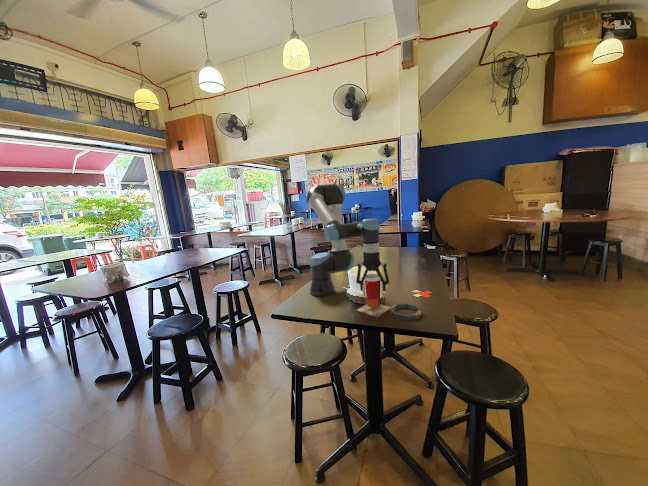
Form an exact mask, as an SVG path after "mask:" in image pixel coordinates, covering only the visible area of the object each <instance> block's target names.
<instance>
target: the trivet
mask: <svg viewBox="0 0 648 486" xmlns="http://www.w3.org/2000/svg"><path fill="white" fill-rule="evenodd" d="M390 307H391V306H389V305H388V306H387V305H385V304H381V303H380V306H379V307H376V308H372V307H369V306H368V304H367V303H366V304H364V305H363V306H361V307H359V308H357V309H356V311H357V312H359V313H363V314H365V315H368V316H371V317H375V318H379V317H381V316H382V315H384V314H385V313H386V312H388V311H390Z"/></svg>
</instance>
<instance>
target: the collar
mask: <svg viewBox="0 0 648 486" xmlns="http://www.w3.org/2000/svg"><path fill="white" fill-rule="evenodd" d="M389 307H390V309H389V312H390V314H391V316H392V317H393V318H395V319H398V320H402V321H413V320H417V319H419V318H420V317H422V310H421V309H420V307H418V305H415V304H410V303H406V302H404V303H395V304H393V305H392V306H389ZM397 309H400V310H401V309H408V310H412V311H415V313H414V314H401V313H398V312H396V310H397Z"/></svg>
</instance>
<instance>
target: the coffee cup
mask: <svg viewBox="0 0 648 486" xmlns="http://www.w3.org/2000/svg"><path fill="white" fill-rule="evenodd" d="M364 283H365V297H366V304H368V306H369V307H372V308H376V307H379V306H380V304H381V284H382V282H381V279H380V277H379V276H378V274H377V273H367V275H366V277H365V279H364Z"/></svg>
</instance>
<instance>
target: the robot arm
mask: <svg viewBox="0 0 648 486" xmlns="http://www.w3.org/2000/svg"><path fill="white" fill-rule="evenodd" d="M346 195H347V194H346V191H345V188H344V186H342V185H341V184H339V183H331V184H317V185H314V186H312V187H311V188H310V189H309V190H308V191H307V195H306V203H307V205H308V207H309V208H311V209H313V211H314V212H315V215H316V216H317V217H318V219H319V221H320V223H322V225H323V227H324V229H323V234H324V238H325V240H326V241H328V242H331V249H330V253H329V252H326V251H324V252H318V253H315V254H314V255H312V256H310V261H309V262H310V273H311V282H310V283H311V284H310V288H309V293H310V294H311V296H315V297H325V296H330V295H332V294H334V293H335V292H336V291H335V290H336V289H335V286H334V283H333V281H332V274H337V273H341V272H347V271H350V269H351V270H352V269H353V267H354V265H355V255H354V253H353V252H352V251H350V248H349V247H347V243H346V239H347V240H349V239H354V238H355V239H356V238H361V239H362V250H363V251H362V252H363V262H357V265H356V266H357V275H356V281H355V282H356V284H359V287H360V291H362V297H363V299H364V298H366V287H365V280H364V279H365V277H366V275H367V274H368V273H369V272H376V274H378V276H379V277H380V279H381V283H380V291H381V299H384V292H386V290H387V289H386V285H389V284H390V279H389V278H390V277H389V273H388V269H387V262H381V260H380V259H381V258H380V257H381V254H380V226H379V220H378V219H377V218H364V219H362V220H361V221H353V222H349V223H344V221H343V220H344V219H343V213H342V207H343V206H344V203H345V201H346ZM363 266H364V268H365V271H364V273H363V276H362V278H361V273H362V268H363ZM380 267H381V268H383V273H384V276H383V274H382V272H381V270H380ZM384 277H385V278H384Z"/></svg>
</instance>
